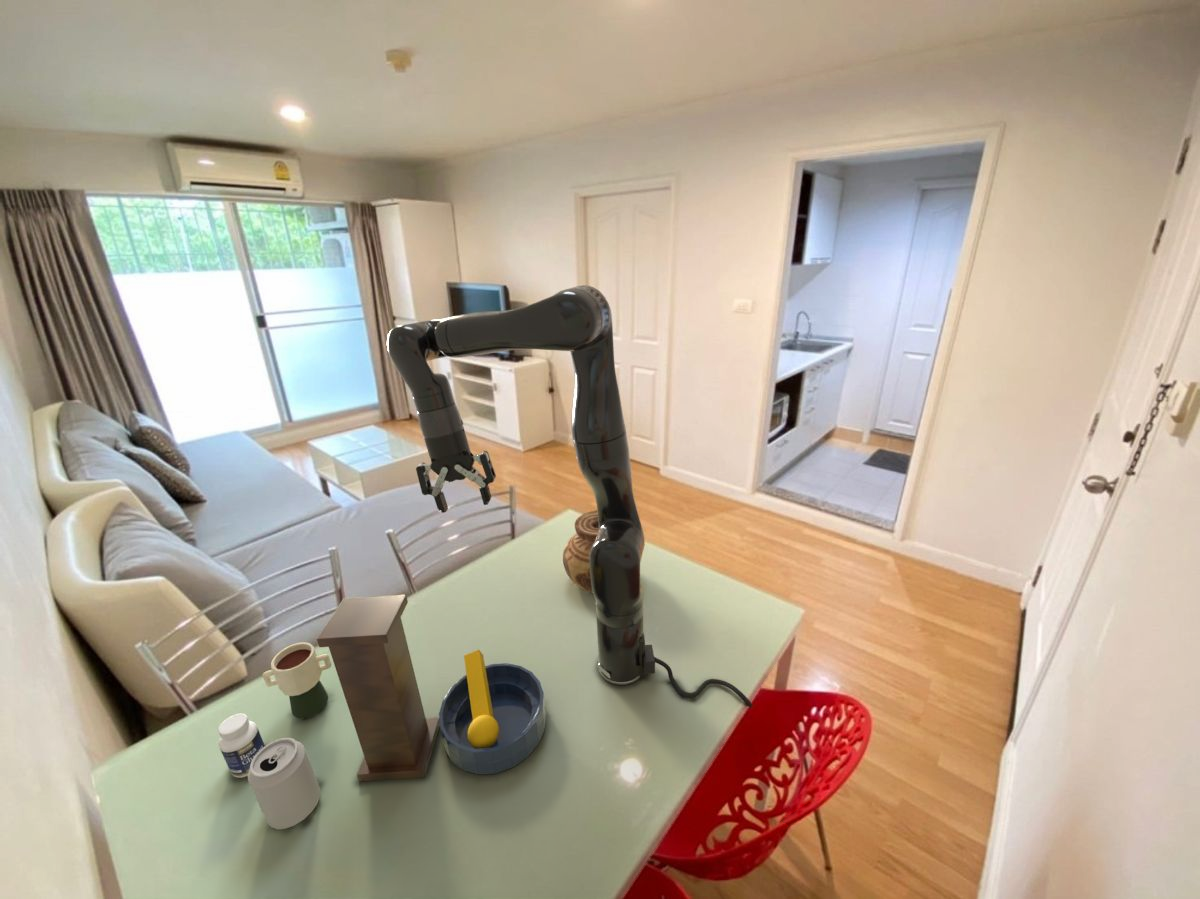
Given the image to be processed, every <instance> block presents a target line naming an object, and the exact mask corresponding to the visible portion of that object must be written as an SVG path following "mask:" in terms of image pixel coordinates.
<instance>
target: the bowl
mask: <svg viewBox="0 0 1200 899" xmlns="http://www.w3.org/2000/svg"><path fill="white" fill-rule="evenodd" d="M485 669H486V675H487V681H488V687H489V692H490V698H491V704H492V710H493V716H494V719H495V720H496V721H497V723H498V726H499V735H498V738H497V740H496V742H495V743H494V745H493V746H491V747H490V748H480V749H475V748H474V747H472V746H471V744H470V743H469V740H468V729H469V726H470V724H471V723H472V721H473V718H472V710H471V703H470V696H469V689H468V682H467V674H465V675H463V676H462V677H461V678H460V679H459V680H458V681H457V682H455V683H454V684H453V685H452V686H451V687H450V689H449V690H448V692H447V693H446V695H445V696H444V698H443V700H442V702H441V706H440V709H439V712H438V718H439V722H440V727H439V731H440V733H441V738H442V742H443V747H444V750H445V752H446V754H447V756H448V757H449V760H450V761H451V762H452V763H453V764H454V765H456V766H457V767H458V768H459V769H461V770H462V771H465V772H468V773H472V774H475V775H490V774H492V775H493V774H498V773H500V772H503V771H505V770H508V769H511V768H514V767H515V766H517V765H519V763H521V762H523V761H524V760H525V759H527V758H528V757H529V756H530V755H531V753H532V752H533V751H534V750H535V749H536V747H537V746H538V745H539V743H540V742H541V740H542V736H543V734H544V732H545V730H546V719H547V711H546V703H545V693H544V690H543V687H542V683H541V681H540V680H539V679H538V677H536V675H535V674H534V673H533V672H532V671H531V670H529V669H527V668H525V667H523V666H522V665H518V664H514V663H508V662H507V663H506V662H504V663H492V664H488V665H485Z"/></svg>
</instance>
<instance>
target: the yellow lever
mask: <svg viewBox="0 0 1200 899" xmlns="http://www.w3.org/2000/svg"><path fill="white" fill-rule="evenodd" d="M463 658H464V667H465V673H466V674H465V675H467V682H468V689H469V696H470V703H471V710H472V718H473V721H472V723H471V724H470V726H469V729H468V740H469V743H470V744H471V746H472V747H474V748H475V749H480V748H490V747H491V746H493V745H494V743H495V742H496V740H497V738H498V735H499V726H498V723H497V721H496V720H495V719H494V716H493V710H492V704H491V698H490V692H489V687H488V681H487V675H486V669H485V666H486V664H485V657H484V655H483V653H482V651H481V650H480V649H477V650H476V649H475V650H474V651H472V652H469V653H466V654H464V655H463Z"/></svg>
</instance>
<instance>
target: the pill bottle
mask: <svg viewBox="0 0 1200 899" xmlns="http://www.w3.org/2000/svg"><path fill="white" fill-rule="evenodd" d="M217 729H218V734H219V737H220V738H219V740H218V747H219V750H220V753H221V754H222V757H223V759H224V761H225V763H226V765H227V767H228V769H229V772H230V774H231V775H232V776H233V777H235V778H237V779H238V778H245V777H248V774H249V770H250V765H251V762H252V760H253V758H254V756H255V755H256V754H257V753H258V752H259V751H260V750H261V749H262V748H263V747H265V746H266V744H265V742H264V740H263V738H262V735H261V734H260V730H259V728H258V725H257V723H255V722H254V721H252V720H249V718H248V716H247V715H246V714H245V713H242V712H241V713H235V714H233V715H231V716H229V717H227V718H226V719H224V720H223V721H222V722H221V723H220V724H219V727H218V728H217Z"/></svg>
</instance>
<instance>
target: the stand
mask: <svg viewBox="0 0 1200 899" xmlns="http://www.w3.org/2000/svg"><path fill="white" fill-rule="evenodd" d="M408 604H409V601H408V597H407V594H396V595H395V594H392V595H377V596H359V597H344V598H343V599H342V600H341V602H340V603H339V605H338V606H337V608H336V609H335V611H334V612H333V614H332V615H331V617H330V618H329V620H328V621H327V623H326V624H325V625H324V627H323V629H322V630H321V631H320V633H319V634H318V636H317V638H316V642H317V645H318V647H319V648H328V651H329V653H330V656H331V659H332V661H333V662H332V663H333V665H334V668H335V671H336V674H337V678H338V681H339V683H340V686H341V690H342V694H343V695H344V698H345V702H346V705H347V707H348V712H349V714H350V717H351V720H352V723H353V725H354V730H355V732H356V735H357V736H356V737H357V739H358V742H359V744H360V748H361V751H362V753H363V759H362V762H361V765H360V767H359V768H358V772H357V773H356V777H357V780H358V782H367V781H368V782H369V781H382V780H383V781H384V780H396V779H397V780H398V779H414V778H426V774H427V772H428V768H429V765H430V761H431V758H432V754H433V751H434V748H435V744H436V741H437V738H438V734H439V731H440V722H439V717H427V718H426V714H425V710H424V705H423V702H422V698H421V694H420V689H419V684H418V682H417V677H416V674H415V669H414V665H413V661H412V657H411V653H410V649H409V646H408V645H409V644H408V641H407V637H406V633H405V628H404V625H403V621H402V616H403V613H404V612H405V610H406V608H407V605H408Z"/></svg>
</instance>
